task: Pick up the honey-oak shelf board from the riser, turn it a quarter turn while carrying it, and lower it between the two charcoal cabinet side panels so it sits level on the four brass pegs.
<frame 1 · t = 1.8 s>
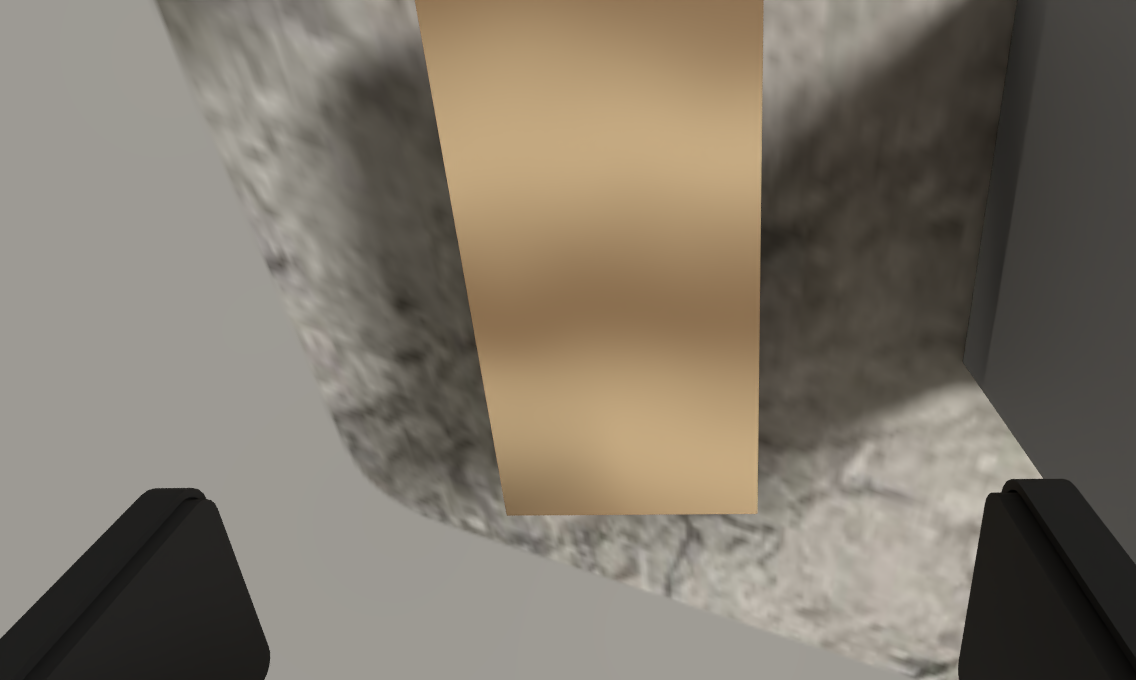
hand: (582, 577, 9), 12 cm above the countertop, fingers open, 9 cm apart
shelf board: (615, 249, 17), point 3 cm above the countertop, touching riser
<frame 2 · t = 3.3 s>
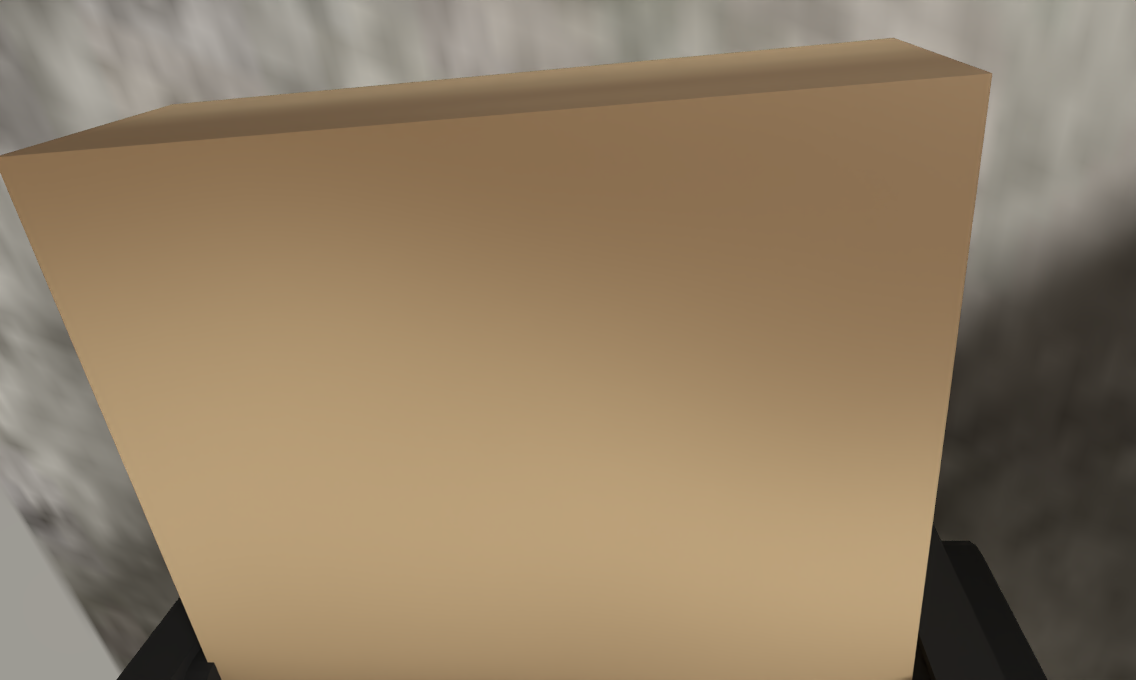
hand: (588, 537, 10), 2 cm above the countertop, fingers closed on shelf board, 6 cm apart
shelf board: (577, 617, 9), point 3 cm above the countertop, touching gripper, riser
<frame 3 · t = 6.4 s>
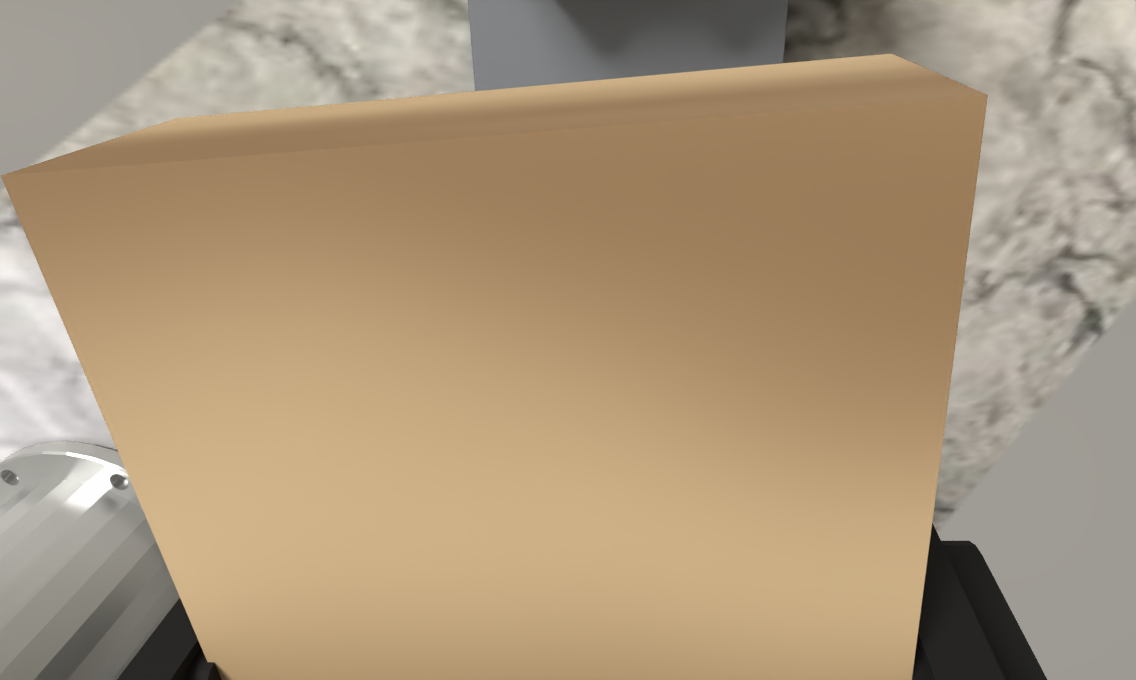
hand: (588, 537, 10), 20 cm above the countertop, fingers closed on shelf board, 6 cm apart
shelf board: (578, 624, 9), point 21 cm above the countertop, touching gripper
cabinet stand: (626, 106, 27), on the countertop
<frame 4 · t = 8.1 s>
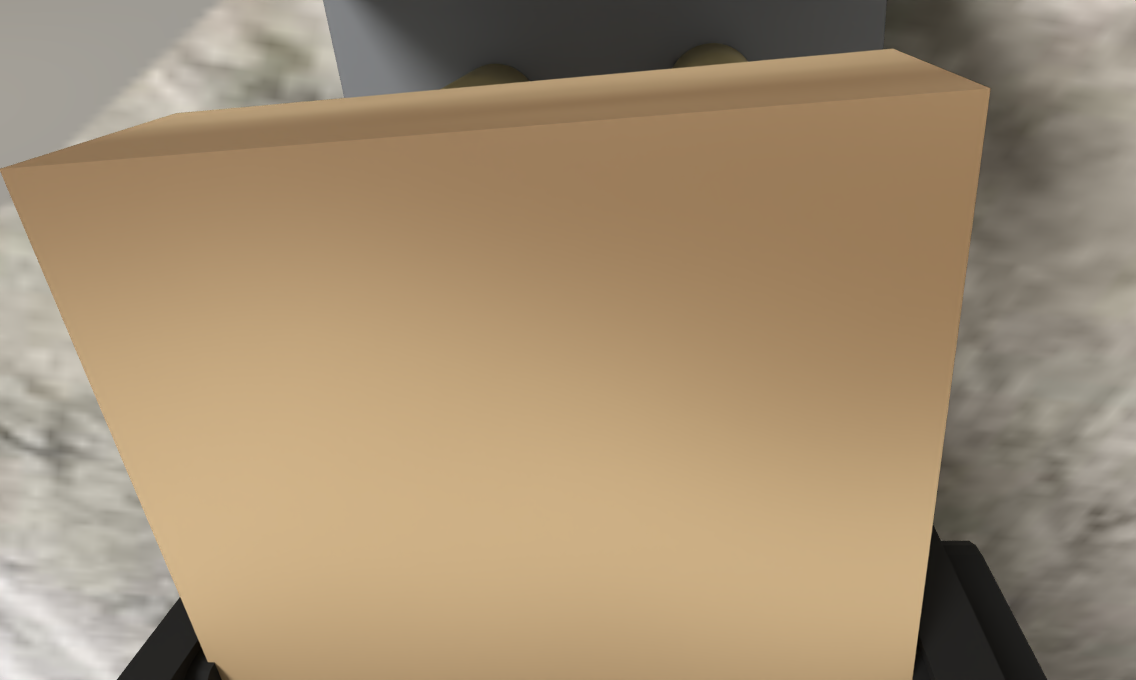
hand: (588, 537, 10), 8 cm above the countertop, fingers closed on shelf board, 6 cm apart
shelf board: (577, 622, 9), point 10 cm above the countertop, touching gripper
cabinet stand: (622, 290, 18), on the countertop
when the fingers open (4 cm above the countertop, at t = 9.5 s): shelf board stays where it is, resting on cabinet stand.
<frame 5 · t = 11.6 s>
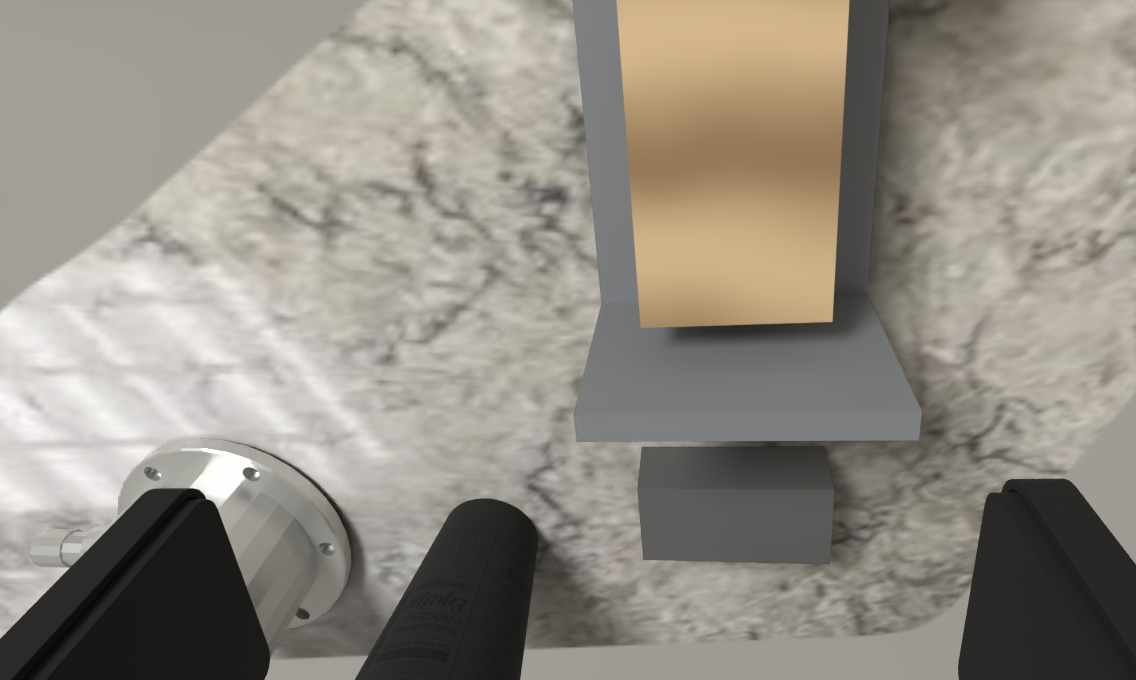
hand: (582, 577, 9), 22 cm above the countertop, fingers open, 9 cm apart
drinking cup: (492, 533, 39), on the countertop
shelf board: (729, 121, 24), point 4 cm above the countertop, touching cabinet stand
cabinet stand: (726, 90, 28), on the countertop
riser: (731, 482, 35), on the countertop
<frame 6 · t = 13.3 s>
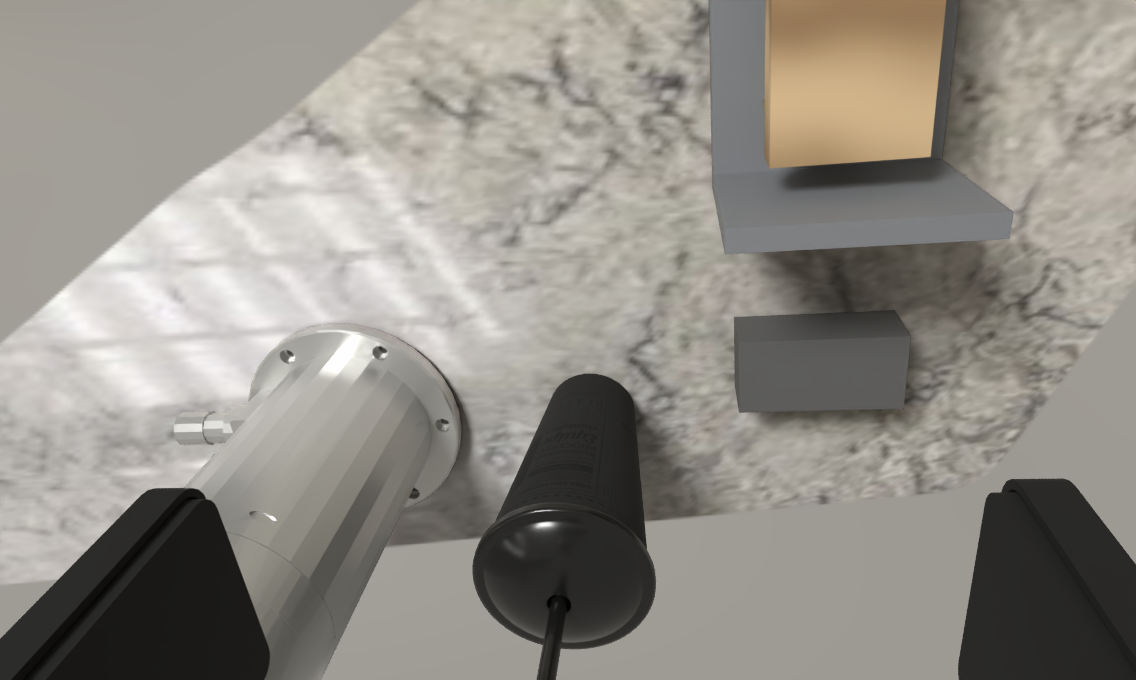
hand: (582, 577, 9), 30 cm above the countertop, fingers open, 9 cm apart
drinking cup: (592, 408, 44), on the countertop
riser: (811, 348, 41), on the countertop
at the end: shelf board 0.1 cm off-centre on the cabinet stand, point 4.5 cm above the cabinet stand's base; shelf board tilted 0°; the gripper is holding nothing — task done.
